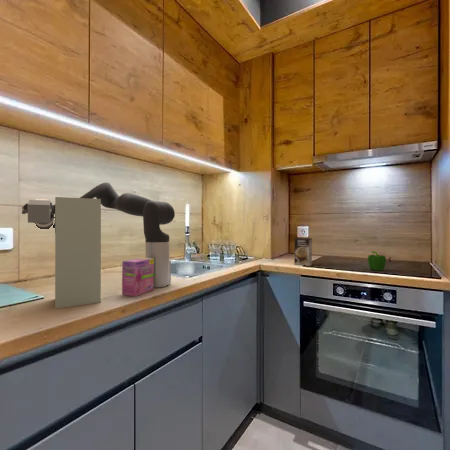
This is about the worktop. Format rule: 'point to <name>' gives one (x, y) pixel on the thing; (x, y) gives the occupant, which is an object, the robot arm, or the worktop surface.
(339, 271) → the worktop surface
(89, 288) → the stand
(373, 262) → the bell pepper
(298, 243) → the coffee box
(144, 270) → the box
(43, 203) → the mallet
